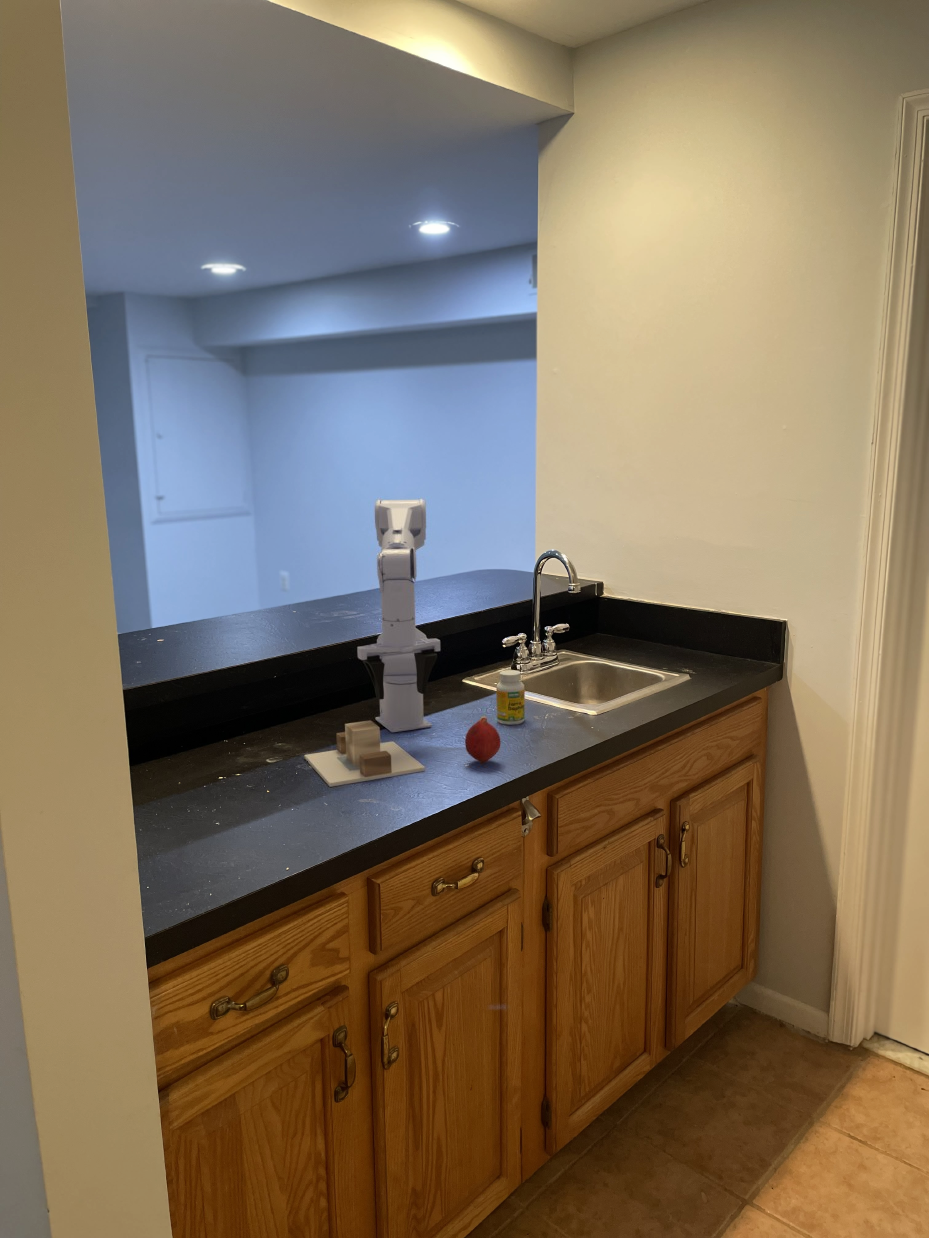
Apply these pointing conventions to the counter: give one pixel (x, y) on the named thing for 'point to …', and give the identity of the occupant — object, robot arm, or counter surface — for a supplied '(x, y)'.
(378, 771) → the walnut blocks
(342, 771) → the board
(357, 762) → the maple block
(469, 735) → the onion
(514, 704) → the supplement bottle
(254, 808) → the counter surface
